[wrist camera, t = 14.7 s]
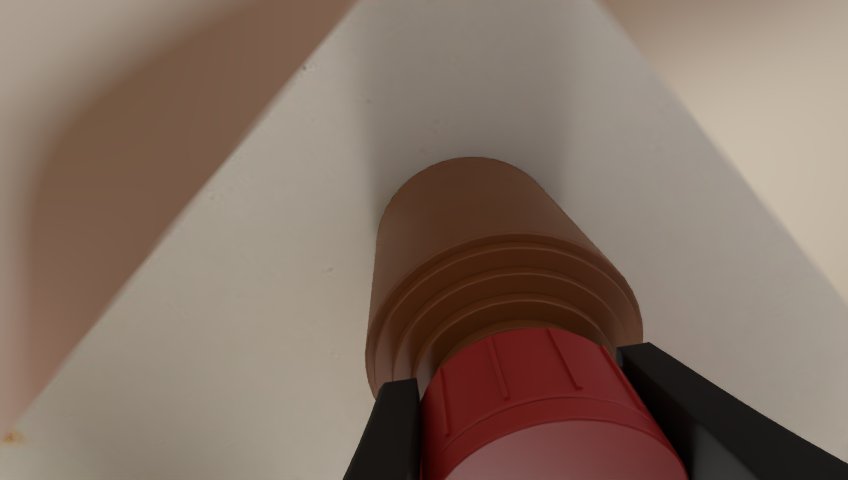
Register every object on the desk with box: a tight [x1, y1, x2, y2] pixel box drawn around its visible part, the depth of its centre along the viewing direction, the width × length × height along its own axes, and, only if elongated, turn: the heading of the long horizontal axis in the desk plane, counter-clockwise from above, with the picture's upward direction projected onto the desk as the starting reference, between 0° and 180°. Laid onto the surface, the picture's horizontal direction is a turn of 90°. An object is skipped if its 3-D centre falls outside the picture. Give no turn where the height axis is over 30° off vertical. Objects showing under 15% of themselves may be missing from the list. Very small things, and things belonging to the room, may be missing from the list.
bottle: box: [365, 157, 643, 400], centre depth 12 cm, size 6×6×9 cm
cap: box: [420, 328, 689, 480], centre depth 8 cm, size 4×4×2 cm
